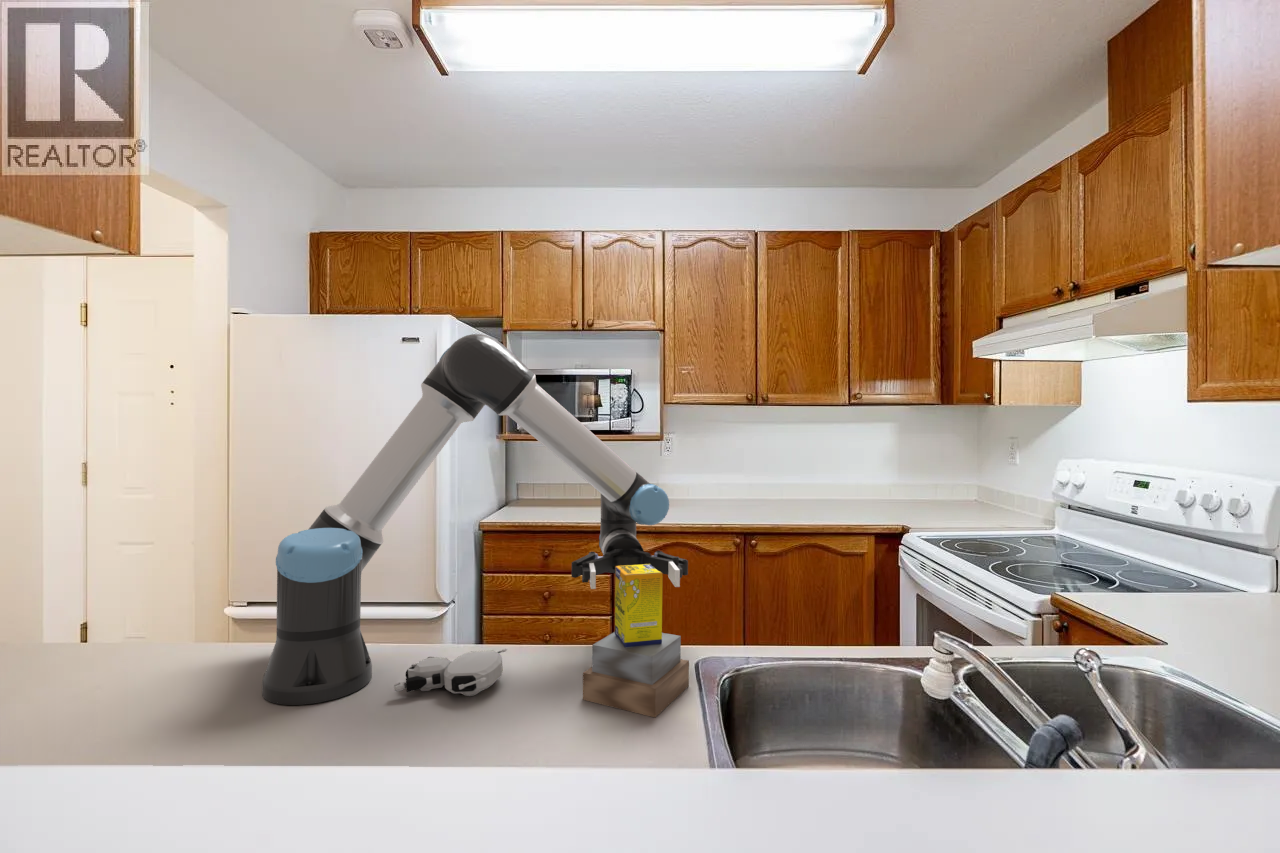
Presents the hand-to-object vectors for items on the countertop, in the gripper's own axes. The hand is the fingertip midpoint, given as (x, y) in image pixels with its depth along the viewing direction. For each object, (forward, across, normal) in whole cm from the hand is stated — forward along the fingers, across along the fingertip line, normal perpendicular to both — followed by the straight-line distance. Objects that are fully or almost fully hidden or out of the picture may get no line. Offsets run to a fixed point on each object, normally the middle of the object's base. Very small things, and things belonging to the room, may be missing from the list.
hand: (635, 579), depth 99 cm
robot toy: (0, +28, -16) cm, 33 cm away
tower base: (+5, 0, -16) cm, 17 cm away
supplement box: (+5, 0, -8) cm, 9 cm away
